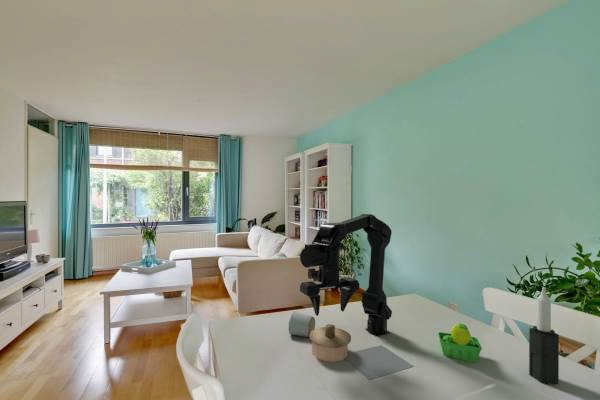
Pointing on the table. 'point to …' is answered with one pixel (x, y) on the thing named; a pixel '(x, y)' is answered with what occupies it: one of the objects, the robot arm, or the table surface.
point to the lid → (330, 337)
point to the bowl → (329, 353)
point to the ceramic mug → (301, 324)
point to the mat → (376, 362)
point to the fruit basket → (460, 344)
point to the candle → (544, 344)
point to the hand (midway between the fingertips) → (329, 313)
